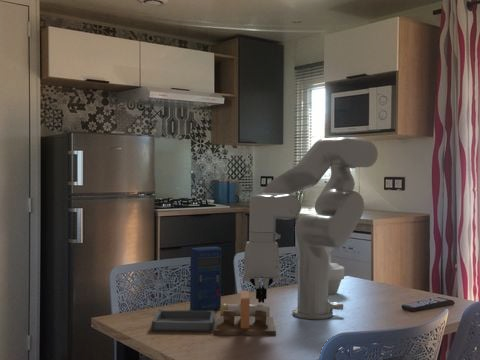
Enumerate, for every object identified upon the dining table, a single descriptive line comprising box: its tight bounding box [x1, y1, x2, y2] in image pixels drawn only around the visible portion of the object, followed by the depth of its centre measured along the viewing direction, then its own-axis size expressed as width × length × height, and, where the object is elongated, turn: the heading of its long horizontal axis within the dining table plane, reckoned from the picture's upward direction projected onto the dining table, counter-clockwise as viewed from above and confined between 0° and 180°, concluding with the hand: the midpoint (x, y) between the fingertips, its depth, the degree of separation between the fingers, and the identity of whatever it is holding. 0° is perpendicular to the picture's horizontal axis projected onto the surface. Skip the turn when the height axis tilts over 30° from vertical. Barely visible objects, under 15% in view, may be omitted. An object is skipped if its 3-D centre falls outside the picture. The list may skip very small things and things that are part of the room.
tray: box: [151, 309, 216, 333], centre depth 158 cm, size 17×13×3 cm
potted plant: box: [324, 246, 345, 296], centre depth 202 cm, size 13×12×25 cm
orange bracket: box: [240, 290, 251, 328], centre depth 156 cm, size 2×10×8 cm, turn 0°
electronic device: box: [189, 245, 222, 311], centre depth 176 cm, size 10×5×20 cm, turn 121°
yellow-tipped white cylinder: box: [219, 303, 271, 317], centre depth 157 cm, size 14×4×4 cm, turn 90°
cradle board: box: [213, 310, 277, 336], centre depth 156 cm, size 17×14×6 cm
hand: (261, 301), depth 156 cm, fingers closed
